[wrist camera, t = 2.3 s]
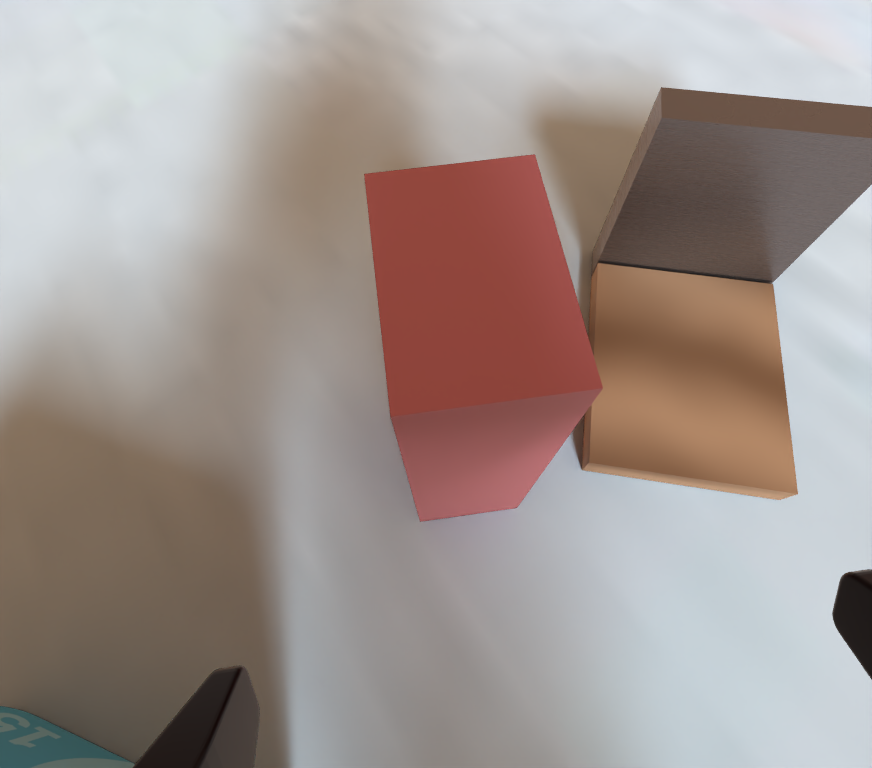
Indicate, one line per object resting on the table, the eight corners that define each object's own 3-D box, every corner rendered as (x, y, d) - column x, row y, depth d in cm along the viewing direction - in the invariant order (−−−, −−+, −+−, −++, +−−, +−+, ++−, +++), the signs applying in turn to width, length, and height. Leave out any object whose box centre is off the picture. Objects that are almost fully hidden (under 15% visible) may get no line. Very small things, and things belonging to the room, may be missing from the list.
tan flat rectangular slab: (779, 499, 21) (797, 493, 20) (581, 469, 22) (589, 462, 21) (758, 298, 25) (772, 284, 24) (591, 277, 25) (598, 263, 24)
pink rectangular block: (516, 507, 21) (602, 388, 10) (420, 521, 21) (390, 416, 9) (490, 376, 23) (534, 154, 12) (403, 387, 23) (364, 174, 12)
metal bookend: (758, 296, 25) (913, 142, 17) (591, 276, 26) (661, 117, 17) (755, 271, 25) (904, 110, 17) (592, 252, 26) (661, 87, 18)
